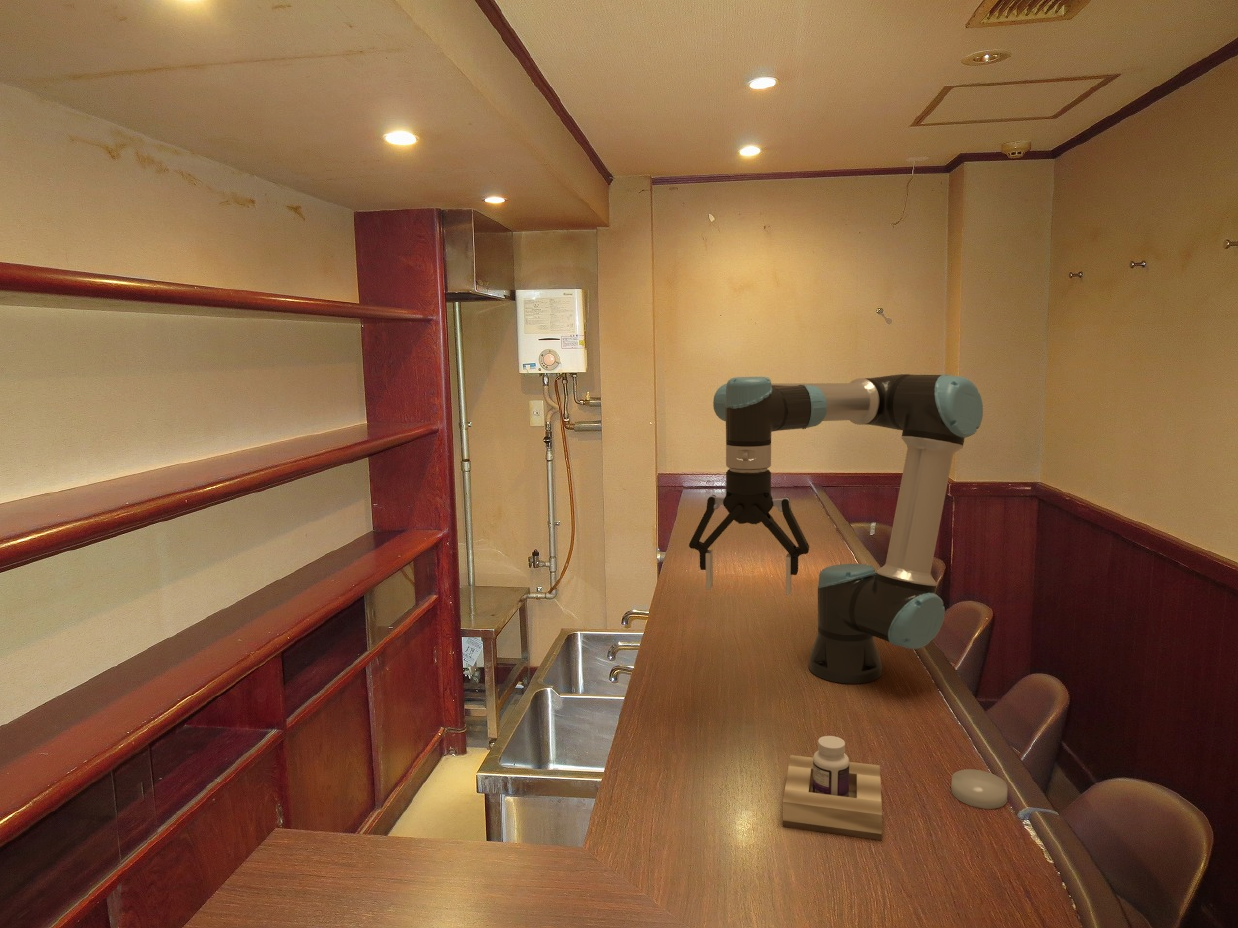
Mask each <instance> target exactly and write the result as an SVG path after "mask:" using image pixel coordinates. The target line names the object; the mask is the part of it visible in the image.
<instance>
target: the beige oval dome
mask: <svg viewBox="0 0 1238 928" xmlns="http://www.w3.org/2000/svg"><path fill="white" fill-rule="evenodd" d="M950 788H951V793H952V795H953V796H954V798H956V799H957V800H958V801H959V802H961V803H963V804H965V805H968V806H969V807H970V806H971V807H973V808H978V809H985V810H991V809H992V810H994V809H999V808H1002V807H1003V806H1005V804H1007V802H1008V785H1007V783H1006V781H1005V780H1003V779H1002V778H1001V777H1000V776H998V775H996V774H993V773H991V772H988V771H984V770H982V769H981V770H980V769H973V768H972V769H971V768H970V769H969V768H967V769H966V768H965V769H961V770H958V771H955V772H954V773H953V774H952V775H951V787H950Z"/></svg>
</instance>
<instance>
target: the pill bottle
mask: <svg viewBox="0 0 1238 928" xmlns="http://www.w3.org/2000/svg"><path fill="white" fill-rule="evenodd" d="M817 740H818V741H817V751H815V752H814V753H813V756H812V758H813V793H820V794H827V795H835V796H843V797H849V762H850V758H849V757H848V755H847V753H846V741H845V740H844V739H842V738H841V737H838V736H834V735H824V736H821V737H819V738H818V739H817Z"/></svg>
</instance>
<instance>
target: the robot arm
mask: <svg viewBox="0 0 1238 928" xmlns="http://www.w3.org/2000/svg"><path fill="white" fill-rule="evenodd" d="M712 403H713V404H712V406H713V410H714V413H715V415H716V416H717V418H718V419H720V420H721V421H723V422H725V466H726V467H727V468H728V469H727V471H726V472H725V483H726V484H725V497H721V496H717V495H716V494H711V495H710V496H709V497H708V498H707V502H706V510H705V512H704V513H703V516H702V517H701V520H700V521H699V523H698V526H697V527H696V529H695V531H694V533H693V535H692V537H691V540H690V541H689V542H688V547H689V548H690V549H693V550H697V551H698V552H699V568H700V570H701V571H705V591H711V590H712V588H713V586H714V582H713V581H714V573H713V571H714V569H713V568H714V565H713V563H714V562H713V560H714V559H713V558H714V557H713V556H714V555H713V554H714V552H713V549H709V548H710V547H711V546H712V545H713V544H714V542H715V541H717V539H718V538H719V537H720V536H721V535H722V534H723V532H724V531H725V530H727V528H728V527H729V526H730V525H731V524H732V523H733V521H734V522H736V523H738V524H741V525H743V524H751V525H758V524H760V523H762V525H763V526H764V527H765V528H767V530H768V531H769V532H770V534H771V535H772V536H773V537H775V539H776V540H777V541H778V543H779V544H780V545H781V546H782V547H783V548H784V549H785V550H786V552H787V553H786V556H785V596H791V594H792V576H797V575H798V573H799V557H800V556H802V555H806V554H808V553H809V551H810V545H809V542H808V541H807V539H806V537H805V535H804V533H803V530H802V529H801V527H800V525H799V522H798V521H797V519H796V517H795V515H794V512H793V511H792V507H791V500H790V497H788V496H784V497H783V498H773V497H772V471H770V469H769V468H771V466H772V432H777V431H790V430H799V429H800V430H806V429H809V428H813V427H817V426H819V425H820V424H822V422H833V421H835V422H837V421H850V422H851V423H853V424H854V425H857V426H859V425H860V426H861V425H862V426H865V425H867V426H875V427H880V428H886V429H892V430H897V431H901V437H900V438H901V440H902V441H903V442H904V444H905V446H906V447H907V449H906V454H905V460H904V465H903V471H902V475H901V476H902V477H901V481H900V485H899V487H900V488H899V491H898V496H897V502H896V506H895V512H894V518H893V521H892V522H893V523H892V529H891V535H890V538H889V545H888V550H887V555H886V560H885V563H884V565H883V566H881V567H880V568H878V569H877V570H876V568H875V567H874V566H873V565H871V564H867V563H866V564H864V563H843V564H842V563H840V564H834V565H830V566H826V567H824V568H823V569H821V571H820V572H819V575H818V585H817V635H816V638H815V641H814V643H813V646H812V648H811V651H810V653H809V659H808V663H809V664H808V666H809V667H808V669H809V670H810V672H811V673H812V674H813V675H815V676H817V677H819V678H820V679H823V680H826V681H828V682H829V681H830V682H835V683H838V684H839V683H841V684H847V685H849V684H851V685H852V684H853V685H854V684H855V685H856V684H866V683H870V682H873V681H876V680H877V679H879V678H880V677H881V676H882V670H883V669H882V660H881V656H880V653H879V650H878V647H877V644H876V641H875V637H876V638H878V639H880V640H883V641H886V642H888V643H890V644H892V645H893V646H897V647H902V648H906V649H908V650H917V649H921V648H924V647H925V646H927V645H929V644H930V642H931V641H932V640H934V639H935V638H936V637H937V635H938V633H939V632H940V630H941V628H942V626H943V624H944V619H945V613H946V612H945V611H946V608H945V606H944V601H943V599H942V598H941V597H940V596H939V595H937V594H936V590H937V585H938V582H936V580H935V579H934V578H933V575H932V573H931V572H932V567H933V562H934V557H935V556H934V555H935V552H936V545H937V540H938V537H939V535H938V534H939V531H940V525H941V520H942V514H943V510H944V504H945V498H946V493H947V487H948V482H949V477H950V472H951V467H952V462H953V456H954V455H955V454H956V453H957V452H958V451H960V450H961V449H964V442H965V439H966V438H969V437H971V436H973V435H974V434H976V433H977V430H978V429H979V428H980V427H981V424H982V421H983V416H984V407H983V406H984V405H983V399H982V396H981V393H980V392H979V389H978V387H977V386H976V384H975V383H974V382H973V381H971V380H970V379H969V378H966V377H964V376H958V375H951V374H910V373H908V374H907V373H905V374H902V373H900V374H891V375H885V376H878V377H867V378H866V377H865V378H863V377H862V378H860V377H859V378H856V379H853V380H851V381H850V382H849V383H848V382H846V383H844V382H842V383H841V382H840V383H838V382H837V383H833V382H832V383H831V382H830V383H829V382H827V383H825V382H824V383H823V382H822V383H821V382H820V383H819V382H816V383H813V382H812V383H811V382H810V383H807V382H805V383H801V382H799V383H798V382H797V383H791V382H790V383H789V382H788V383H787V382H786V383H772V380H771V379H770V377H766V376H735V377H732V378H729V380H727V382H726V383H724V384H722V385H721V386H719V387H718V388H717V390H716V392H715V393H714V396H713V402H712ZM721 505H723V507H724V508H725V509H726V511H727V512H728V514H727V515H726V516H725V518H724V519H723V520H722V521H721V522H720V523H719V525H717V526H716V528H715V529H714V530H713V531H712V532H711V534H709V535H708V537H707V538H706V539H705V540H704V542H702V541H700V540H701V538H702V537H703V534H704V533H705V530H706V528H707V527H708V524H709V523H710V521H711V518H712V517H713V514H714V512H715V511H716V510H718V509H719V508H720V507H721ZM773 507H776V508H777V510H778V512H780V513H781V512H782V515H783V518H784V520H785V522H786V524H787V526H788V529H789V530H790V532H791V534H792V535H793V538H794V541H795V542H796V544H797V545H796V544H795V543H794V542H793V541H792V539H790V537H789V536H788V534H786V532H785V531H784V530H783V529H782V527H781V526H779V524H778V522H776V521H775V519H774V518H773V516H772V515H771V514H770V511H771V510H772V509H773Z"/></svg>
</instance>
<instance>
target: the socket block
mask: <svg viewBox="0 0 1238 928" xmlns="http://www.w3.org/2000/svg"><path fill="white" fill-rule="evenodd" d="M788 761H789V762H788V768H787V773H786V779H785V787H784V793H783V798H782V827H783V828H791V829H798V830H803V831H804V830H806V831H812V832H820V833H825V834H826V833H827V834H833V835H841V836H848V837H855V838H861V839H870V840H877V841H882V839H883V838H882V837H883V836H882V834H883V829H882V828H883V803H882V802H883V801H882V783H881V782H882V781H881V780H882V779H881V765H880V764H879V765H878V764H871V763H860V762H854V761H853V762H852V761H849V797H843V796H835V795H827V794H820V793H813V756H812V757H810V756H801V755H792V754H790V755H789V760H788Z"/></svg>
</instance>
